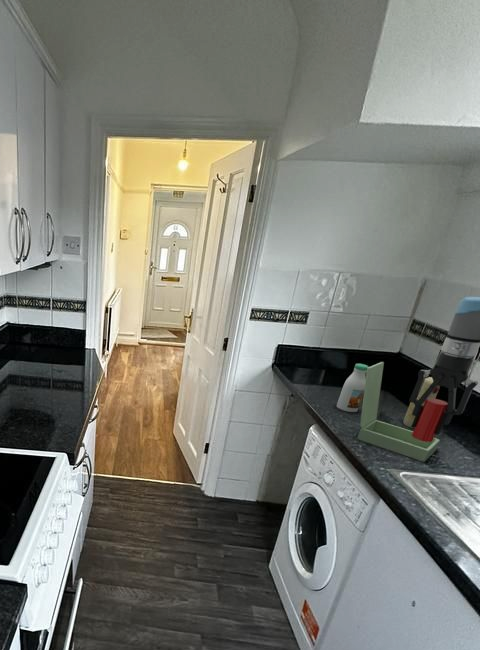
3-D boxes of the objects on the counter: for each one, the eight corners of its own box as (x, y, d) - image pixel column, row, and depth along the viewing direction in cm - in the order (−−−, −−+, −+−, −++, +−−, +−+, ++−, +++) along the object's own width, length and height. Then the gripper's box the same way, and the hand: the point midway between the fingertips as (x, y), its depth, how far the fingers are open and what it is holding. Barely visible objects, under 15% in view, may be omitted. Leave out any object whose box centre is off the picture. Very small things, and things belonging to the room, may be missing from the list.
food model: (421, 433, 155) (444, 383, 147) (400, 427, 159) (421, 378, 150) (422, 424, 163) (444, 377, 154) (402, 419, 166) (422, 372, 157)
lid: (383, 362, 146) (381, 362, 146) (369, 368, 138) (367, 367, 138) (376, 418, 152) (374, 418, 152) (362, 427, 143) (359, 427, 144)
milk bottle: (336, 412, 170) (352, 366, 162) (334, 405, 177) (349, 360, 168) (357, 416, 168) (375, 369, 159) (354, 409, 174) (371, 364, 166)
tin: (434, 439, 125) (450, 402, 121) (429, 443, 122) (445, 406, 117) (414, 432, 129) (429, 397, 124) (409, 437, 126) (424, 400, 121)
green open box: (434, 452, 140) (440, 439, 138) (423, 464, 132) (428, 450, 130) (370, 431, 154) (374, 419, 152) (356, 440, 146) (360, 428, 144)
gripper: (414, 348, 119) (387, 421, 128) (497, 365, 107) (460, 444, 116) (422, 345, 124) (395, 416, 133) (502, 361, 111) (466, 438, 120)
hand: (425, 429), depth 124 cm, fingers closed on tin, 5 cm apart
